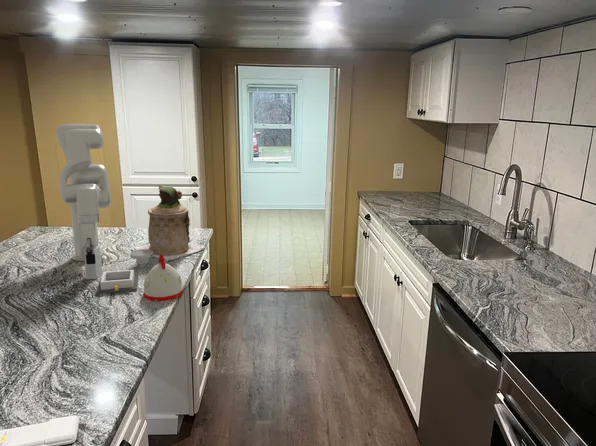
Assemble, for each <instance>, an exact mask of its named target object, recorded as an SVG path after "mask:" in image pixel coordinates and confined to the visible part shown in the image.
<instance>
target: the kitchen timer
mask: <svg viewBox="0 0 596 446" xmlns="http://www.w3.org/2000/svg"><path fill="white" fill-rule="evenodd" d="M182 281H183V280H182V277H181V274H179V272H177V270H176V269H175V268H174V267H173V266H171V265H170V264H168V263H167V262H166V261H164V258H163V255H160V256H159V259H158V263H157V264H156V265H154V266H153V267H152V268H151V270H149V272H148V273H147V276H146V275H145V276H144V281H143V282H144V283H143V297H144V298H145V299H146V300H148V301H151V302H166V301H172V300H175V299H177V298H180V297H181V296H182V295H183V292H184V290H183V284H182Z"/></svg>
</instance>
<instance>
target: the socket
mask: <svg viewBox="0 0 596 446" xmlns="http://www.w3.org/2000/svg"><path fill="white" fill-rule="evenodd" d="M138 282H139V274H137V275H136V274H135V270H134V269H125V270H111V271H102V275H101V277H100V278H99V281H98V284H97V287H96V291H95V294H96V295H103V294H105V295H106V294H116V293H128V292H137V291H138Z"/></svg>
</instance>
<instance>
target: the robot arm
mask: <svg viewBox="0 0 596 446" xmlns="http://www.w3.org/2000/svg"><path fill="white" fill-rule="evenodd" d="M55 133H56V139H57V142H58V145H59V146H60V148H61V151H62V152H63V154H64V156H65V161H66V165H65V166H64V167H63V169H62V170H61V171H60V174H59V177H58V183H59V185H58V186H59V192H60V193H59V194H60V198H61V200H62V201H63V203H65V204H68V207H69V210H70V217H71V225H72V234H73V243H74V253H73V254H71V259H72V260H73V261H77V262H85V260H84V250H85V249H86V264H95V263H96V261H95V254H94V248H95V247H96V246H99V230H98V223H99V222H100V223H101V220H100V219H101V218H100V209H105V208H109V207H110V206H111V205H112V195H111V188H110V180H109V179H110V178H109V174H108V171H107V168H106V166H104V165H103V164H99V163H94V164H92V155H91V150H99V149H100V150H101V149H102V148H104V145H105V139H104V135H103V131H102V130H101V128H100V126H99V125H98V124H96V123H63V124H60V125H58V126H57V127H56V130H55ZM68 181H69V183H70V184H68ZM102 257H103V252H102V251H101V250H100V258H102Z"/></svg>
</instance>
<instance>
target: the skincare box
mask: <svg viewBox="0 0 596 446" xmlns="http://www.w3.org/2000/svg"><path fill="white" fill-rule="evenodd" d="M100 248H101V247H100V245H98V246H96V247H95V248H94V254H95V261H96V263H95V264H86V249H85V250H84V260H85V261H84V269H85V275H86V280H97V279H98V278H99V277H100V276H102V275H103V270H102V260H101V258H102V257H100V251H101V249H100Z"/></svg>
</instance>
